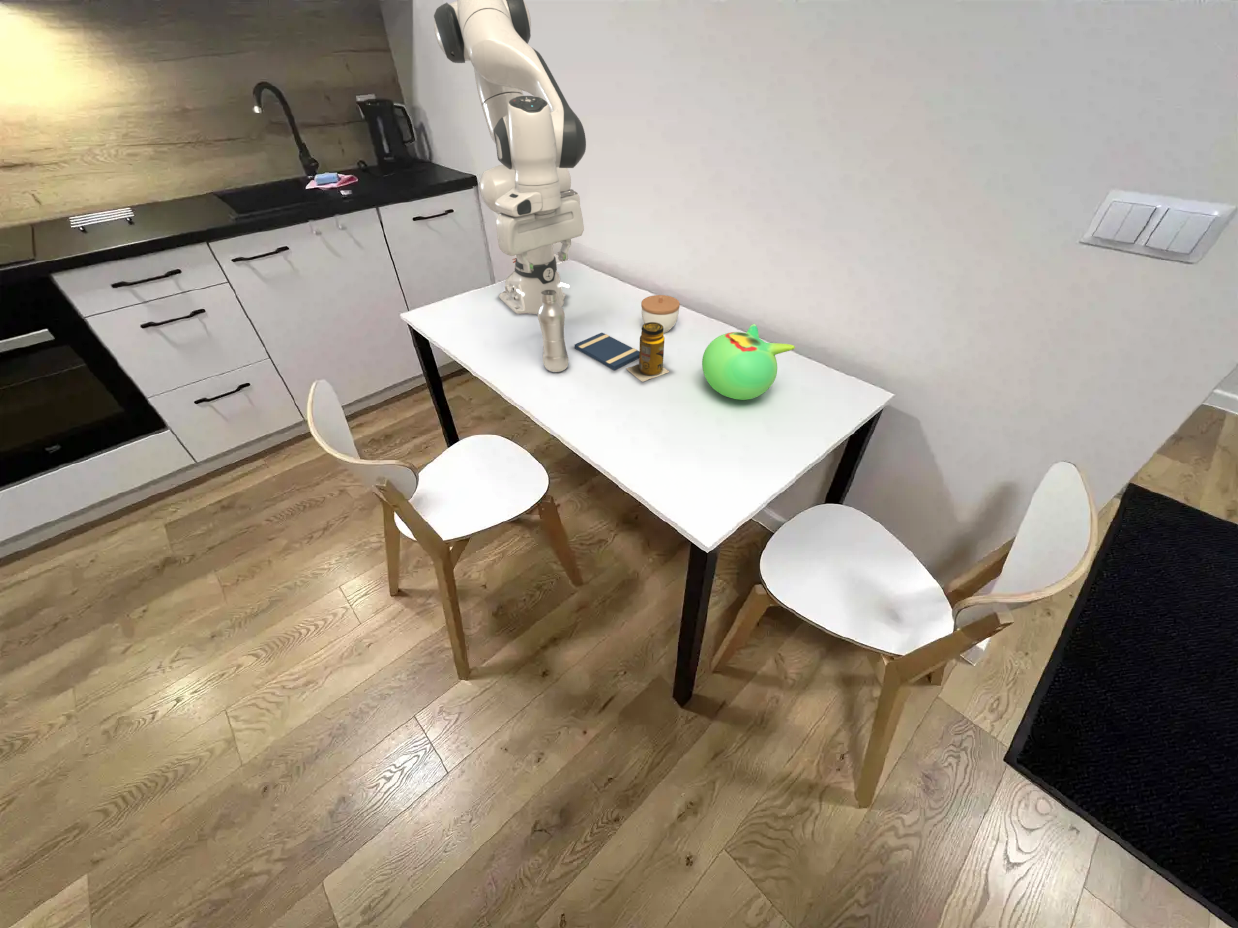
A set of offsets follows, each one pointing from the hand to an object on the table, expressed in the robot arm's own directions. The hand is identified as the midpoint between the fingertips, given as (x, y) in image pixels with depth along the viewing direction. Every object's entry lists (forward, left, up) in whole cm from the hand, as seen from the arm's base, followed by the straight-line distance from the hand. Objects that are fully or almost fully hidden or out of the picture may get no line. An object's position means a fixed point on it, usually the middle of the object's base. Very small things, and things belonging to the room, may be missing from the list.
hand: (546, 266), depth 109 cm
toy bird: (+38, +25, -26) cm, 52 cm away
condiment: (+17, +16, -26) cm, 35 cm away
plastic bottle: (0, 0, -26) cm, 26 cm away
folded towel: (+3, +15, -26) cm, 30 cm away
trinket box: (+3, +35, -26) cm, 44 cm away
